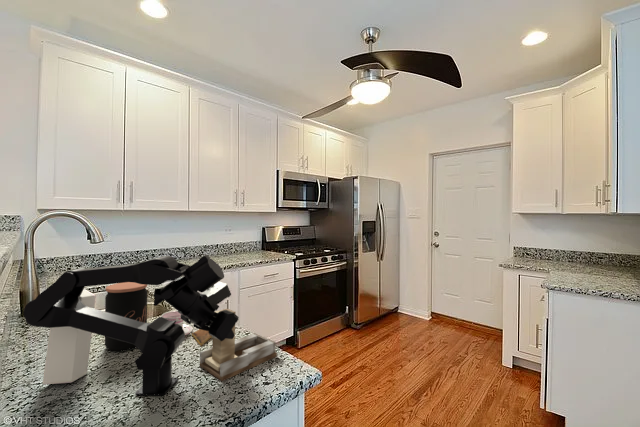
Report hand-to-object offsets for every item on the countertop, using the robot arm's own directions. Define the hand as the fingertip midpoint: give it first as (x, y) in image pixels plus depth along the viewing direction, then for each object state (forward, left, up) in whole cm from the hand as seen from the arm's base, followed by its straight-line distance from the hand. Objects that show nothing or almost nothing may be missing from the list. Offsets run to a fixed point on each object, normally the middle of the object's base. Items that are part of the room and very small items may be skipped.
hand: (228, 334), depth 78 cm
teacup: (+22, +26, -8) cm, 35 cm away
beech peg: (-1, +1, -7) cm, 7 cm away
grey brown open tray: (+3, -2, -8) cm, 9 cm away
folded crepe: (+18, +13, -9) cm, 24 cm away
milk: (-8, +36, -8) cm, 38 cm away
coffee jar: (+12, +35, -8) cm, 38 cm away
